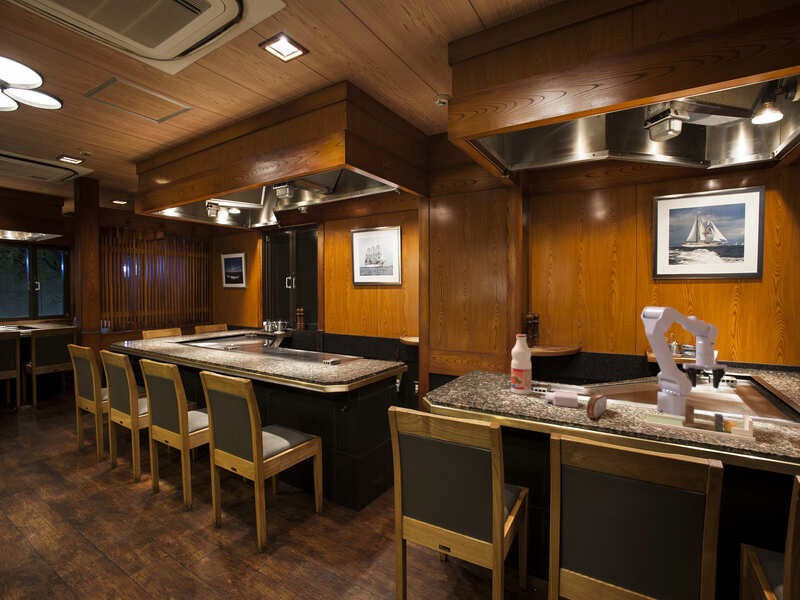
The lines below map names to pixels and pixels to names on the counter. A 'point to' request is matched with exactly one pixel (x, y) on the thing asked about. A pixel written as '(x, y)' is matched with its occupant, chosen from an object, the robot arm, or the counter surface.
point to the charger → (563, 399)
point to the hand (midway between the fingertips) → (704, 387)
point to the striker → (690, 422)
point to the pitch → (671, 422)
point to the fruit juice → (521, 366)
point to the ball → (729, 426)
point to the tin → (596, 406)
